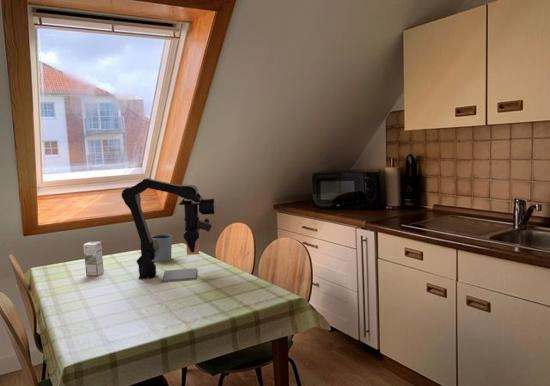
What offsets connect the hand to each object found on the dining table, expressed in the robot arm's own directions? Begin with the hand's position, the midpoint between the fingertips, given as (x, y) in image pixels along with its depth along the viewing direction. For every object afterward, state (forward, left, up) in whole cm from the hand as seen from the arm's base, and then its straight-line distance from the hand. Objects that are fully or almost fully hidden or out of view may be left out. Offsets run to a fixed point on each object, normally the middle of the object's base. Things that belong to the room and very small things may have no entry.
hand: (192, 250), depth 192 cm
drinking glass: (-16, +29, -11) cm, 35 cm away
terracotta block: (0, 0, -1) cm, 1 cm away
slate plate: (-6, 0, -11) cm, 12 cm away
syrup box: (-44, +13, -11) cm, 47 cm away
